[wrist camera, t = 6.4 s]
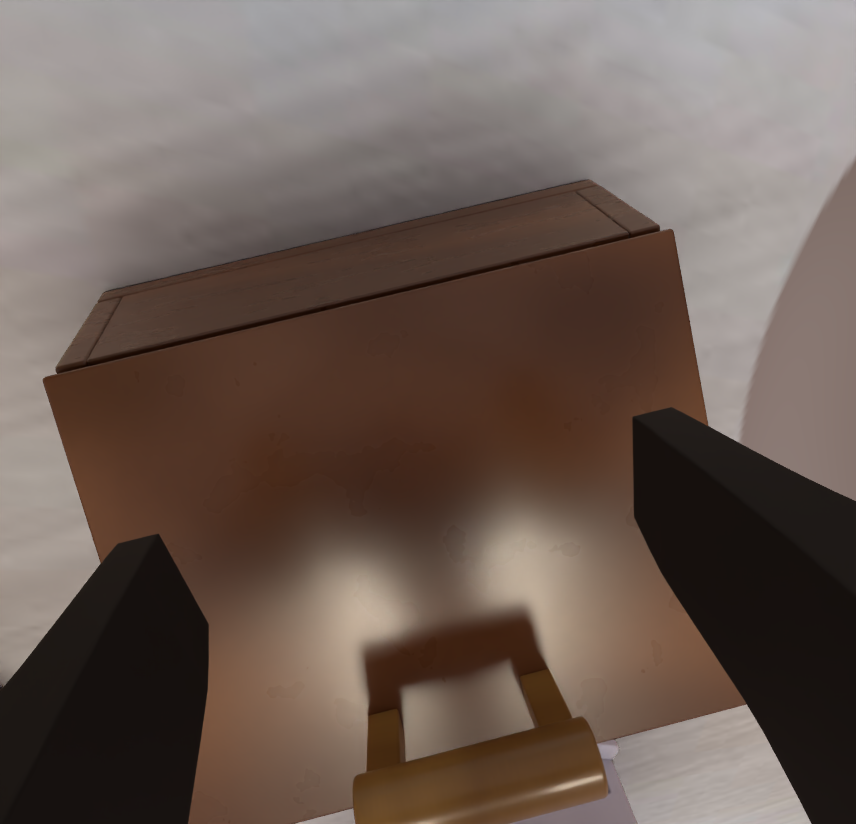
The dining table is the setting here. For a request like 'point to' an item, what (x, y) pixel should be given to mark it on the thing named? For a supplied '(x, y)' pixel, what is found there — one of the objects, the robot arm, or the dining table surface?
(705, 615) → the robot arm
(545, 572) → the box lid
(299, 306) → the trinket box
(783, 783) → the dining table surface
